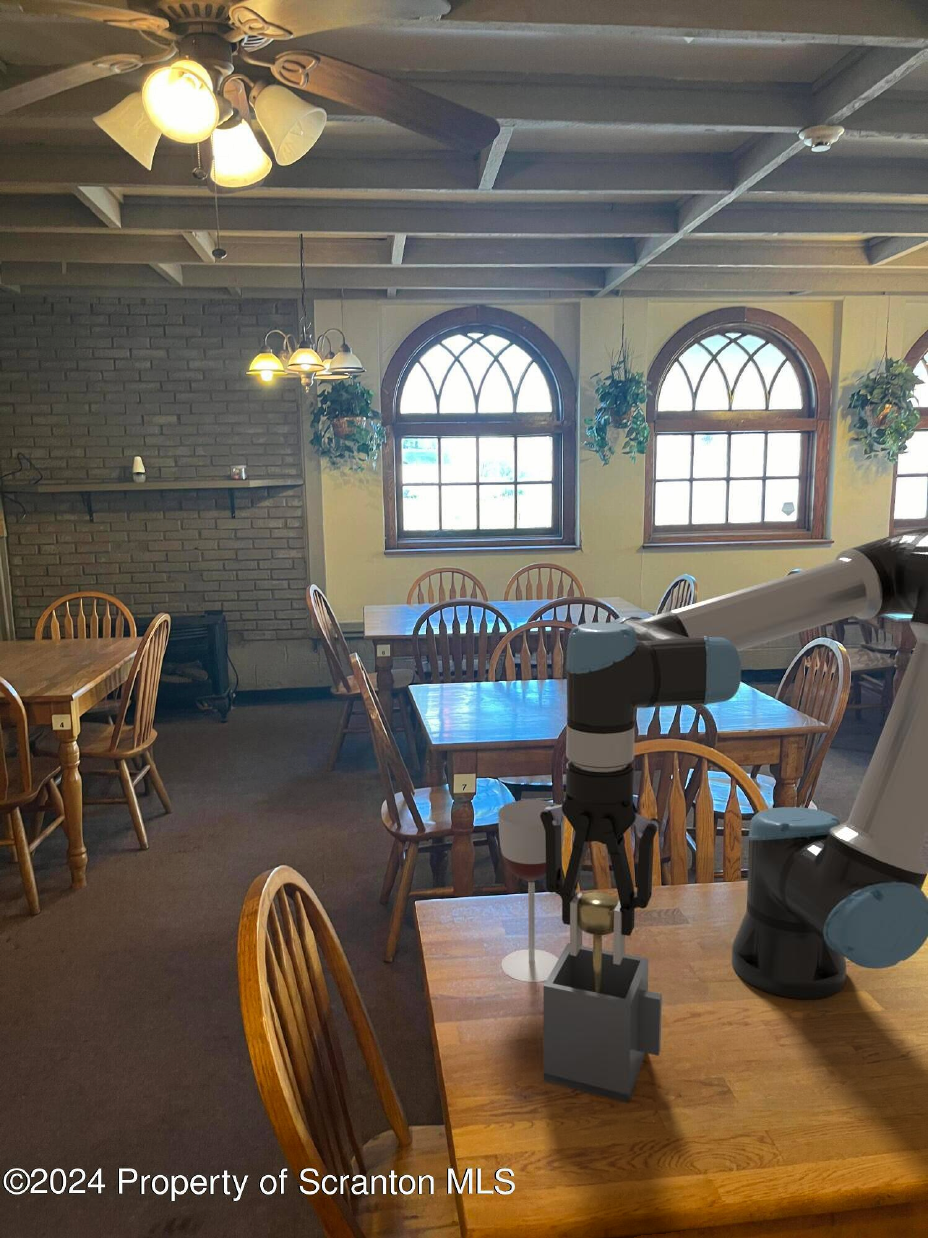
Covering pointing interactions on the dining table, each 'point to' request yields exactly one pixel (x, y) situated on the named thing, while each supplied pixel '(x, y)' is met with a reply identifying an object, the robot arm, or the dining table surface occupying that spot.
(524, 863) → the wineglass
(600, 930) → the plunger
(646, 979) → the press pot
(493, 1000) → the dining table surface
